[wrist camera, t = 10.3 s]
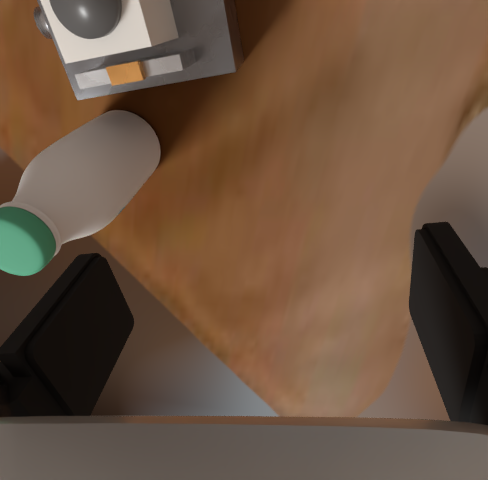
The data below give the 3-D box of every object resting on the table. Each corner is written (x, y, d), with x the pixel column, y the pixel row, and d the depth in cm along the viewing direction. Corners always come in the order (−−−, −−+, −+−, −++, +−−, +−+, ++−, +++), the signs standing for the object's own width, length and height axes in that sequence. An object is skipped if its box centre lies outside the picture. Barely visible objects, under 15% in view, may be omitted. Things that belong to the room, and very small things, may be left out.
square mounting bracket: (216, -113, 27) (180, -168, 18) (244, 61, 34) (227, 82, 25) (31, -61, 30) (-76, -87, 21) (89, 90, 37) (24, 117, 28)
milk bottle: (95, 97, 37) (-67, 176, 20) (168, 122, 37) (69, 218, 21) (90, 165, 41) (-46, 276, 25) (156, 186, 42) (66, 309, 25)
